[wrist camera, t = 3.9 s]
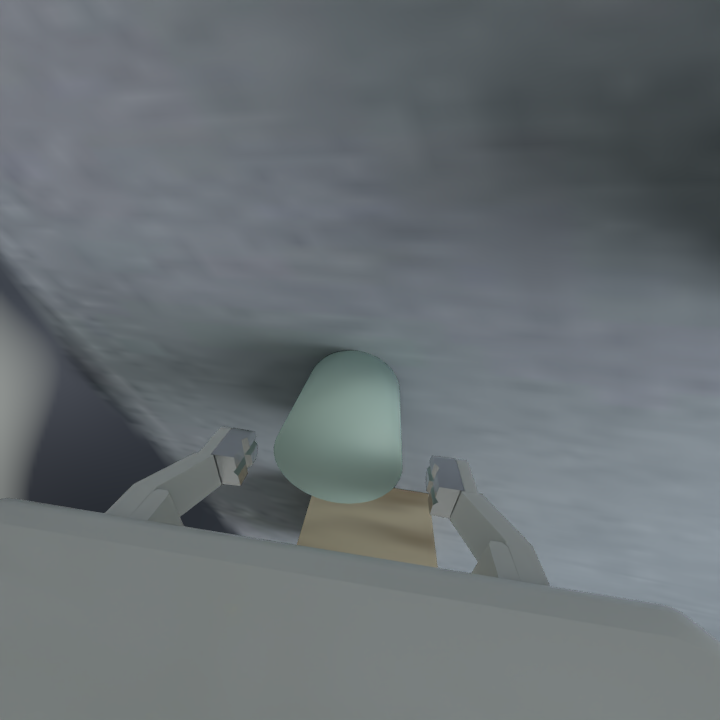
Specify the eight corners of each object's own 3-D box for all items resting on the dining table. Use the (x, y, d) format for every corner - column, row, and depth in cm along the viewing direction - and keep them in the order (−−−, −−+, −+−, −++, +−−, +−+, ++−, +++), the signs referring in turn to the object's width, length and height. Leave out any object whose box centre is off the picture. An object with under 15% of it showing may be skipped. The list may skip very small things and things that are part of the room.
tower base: (318, 473, 19) (294, 550, 14) (428, 491, 18) (438, 576, 14) (317, 533, 23) (299, 607, 18) (408, 549, 22) (412, 629, 18)
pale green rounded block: (308, 344, 14) (268, 403, 9) (407, 357, 13) (413, 424, 9) (309, 419, 16) (278, 493, 12) (392, 431, 16) (391, 512, 11)
